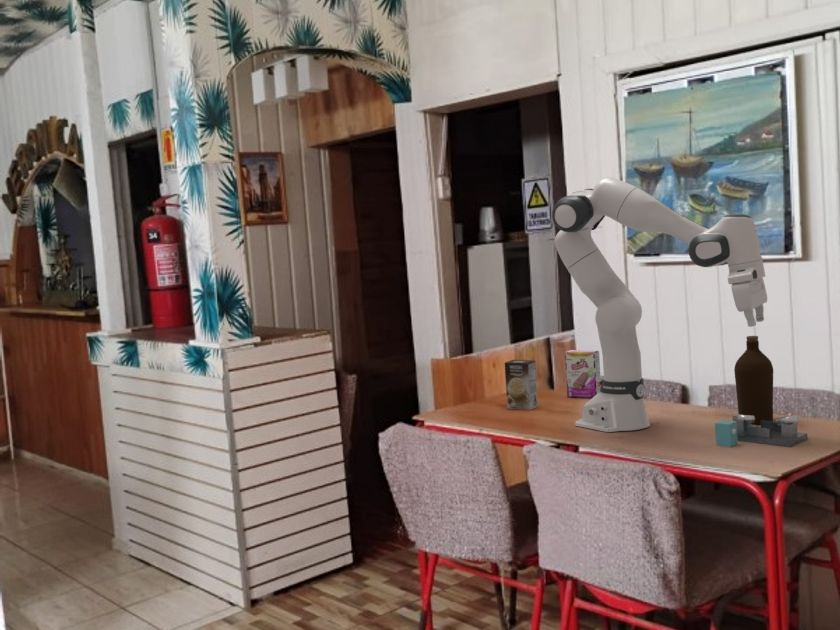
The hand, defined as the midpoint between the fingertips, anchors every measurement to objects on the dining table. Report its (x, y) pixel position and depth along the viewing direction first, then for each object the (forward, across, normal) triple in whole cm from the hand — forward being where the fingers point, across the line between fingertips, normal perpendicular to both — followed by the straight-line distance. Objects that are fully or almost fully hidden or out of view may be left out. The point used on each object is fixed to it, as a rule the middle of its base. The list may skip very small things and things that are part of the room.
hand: (756, 323), depth 252 cm
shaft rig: (+31, +2, -2) cm, 31 cm away
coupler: (+30, +11, -11) cm, 33 cm away
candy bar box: (+22, -45, -73) cm, 89 cm away
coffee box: (+20, -24, -87) cm, 92 cm away
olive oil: (+30, -18, -10) cm, 37 cm away
